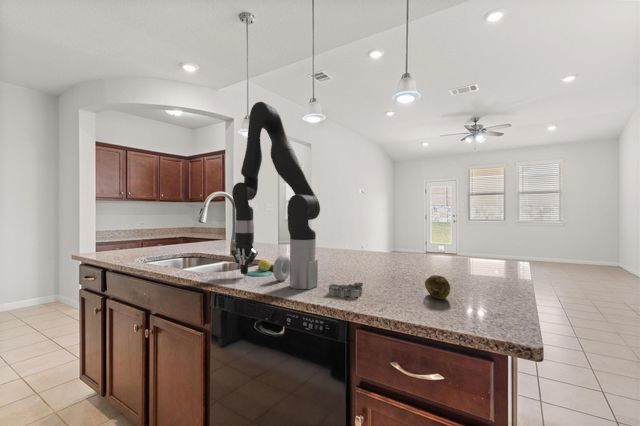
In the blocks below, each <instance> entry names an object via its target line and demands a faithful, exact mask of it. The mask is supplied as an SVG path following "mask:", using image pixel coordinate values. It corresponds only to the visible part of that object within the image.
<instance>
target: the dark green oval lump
mask: <svg viewBox="0 0 640 426" xmlns="http://www.w3.org/2000/svg"><path fill="white" fill-rule="evenodd" d="M424 286H425V290H426V291H427V292H428V294H430V295H431V296H432V297H433V298H435V299H438V300H445V299H447V298H448V296H449V295H450V294H451V285H450V283H449V281H448V280H447V278H446V277H444V276H441V275H435V274H433V275H430V276H429V277H428V278H426V279H425V281H424Z"/></svg>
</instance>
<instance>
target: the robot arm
mask: <svg viewBox="0 0 640 426" xmlns="http://www.w3.org/2000/svg"><path fill="white" fill-rule="evenodd" d="M262 129H264V130H265V132H267V135H268V136H269V138H270V142H271V146H270V157H271V161H272V162H271V163H272V164H273V166H274V169H275V171H276V173H277V174H278V175H279V177H280V178H281V179H282V180H283V181H284V182H285V183H286V184H287V185H288V186H289V187H290V188H291V190H292V191H293V193H294V195H292V196H291V197H290V198H289V200H288V203H287V210H286V211H287V213H286V216H287V230H288V233H289V241H290V242H289V260H290V274H289V287H290V288H292V289H295V290H311V289H314V288H316V287H318V274H319V273H318V272H319V271H318V265H319V264H318V259H316V245H317V243H316V239H317V237H316V235H317V233H316V231H315V230H313V229H312V228H311V227H310V224H309V221H312V220H316V219H317V218H318V217H319V215H320V213H321V204H320V201H319V199H318V197H317V195H316V194H315V192H314V190H313V189H312V187H311V185H310V184H309V182H308V180H307V177H306V176H305V173H304V171H303V169H302V167H301V164H300V162H299V160H298V157H297V155H296V153H295V150H294V148H293V146H292V144H291V142H290V139H289V138H288V136H287V134H286V131H285V128H284V125H283V121H282V117H281V114H280V112H279V110H277V109H276V108H275V107H273V106H272V105H269V104H267V103H265V102H263V101H258V102H255V103H254V104H253V105H252V107H251V109H250V113H249V118H248V130H247V139H246V149H245V154H244V158H243V161H242V167H241V169H240V173H241V175H242V176H243V177H244V179H243V182H242V181H241V182H237V183H235V185H233V188H232V192H231V193H232V200H233V205H234V209H235V223H234V244H235V248H234V249H233V250H231V251H230V254H231V255H232V256H233V258H234V260H235V262H236V263H237V264H239V265H240V270H239V271H240V274H241V275H245V274H247V272H249V265H250V264H253V262H254V260H255V259H256V258H257V256H258V254H259V252H258V251H255V250H254V245H253V243H254V242H255V241H254V240H255V239H254V237H255V236H254V234H255V228H254V227H255V225H254V209H253V207H252V206H250V203H249V201H252V200H254V199H255V198H256V196H257V193H258V186H259V174H260V173H259V172H260V169H261V166H262V162H263V151H262V146H261V133H262Z"/></svg>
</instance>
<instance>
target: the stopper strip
mask: <svg viewBox="0 0 640 426" xmlns="http://www.w3.org/2000/svg"><path fill="white" fill-rule="evenodd" d="M273 266H274V264H271V267H270V269H269V270H268V271H270V272H273ZM257 269H258V270H260V269H259V267H258V266H257Z"/></svg>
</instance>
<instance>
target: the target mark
mask: <svg viewBox="0 0 640 426" xmlns="http://www.w3.org/2000/svg"><path fill="white" fill-rule="evenodd" d="M271 275H273V271H261V270H250V271H248V272H247V274H244V276H247V277H268V276H271Z"/></svg>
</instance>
